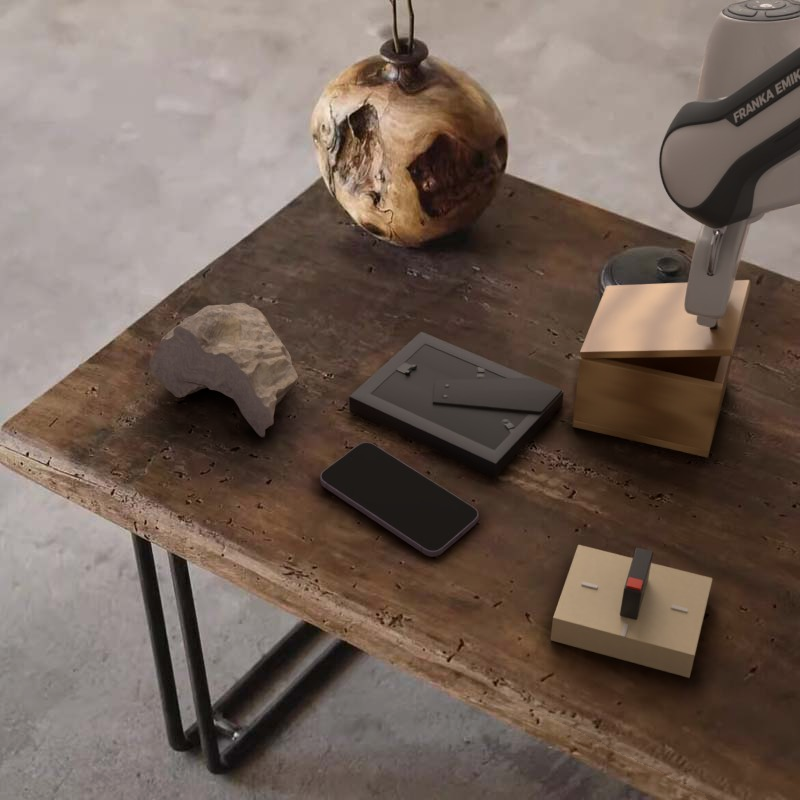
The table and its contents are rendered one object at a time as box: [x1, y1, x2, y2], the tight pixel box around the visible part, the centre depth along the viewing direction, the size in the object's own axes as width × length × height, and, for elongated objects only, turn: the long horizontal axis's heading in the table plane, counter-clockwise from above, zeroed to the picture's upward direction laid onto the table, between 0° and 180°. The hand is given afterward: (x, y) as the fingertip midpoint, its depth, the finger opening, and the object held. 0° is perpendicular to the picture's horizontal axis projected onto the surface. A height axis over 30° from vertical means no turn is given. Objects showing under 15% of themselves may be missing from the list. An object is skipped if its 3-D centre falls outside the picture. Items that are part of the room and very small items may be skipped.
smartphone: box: [319, 441, 479, 558], centre depth 126 cm, size 7×1×15 cm
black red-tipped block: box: [620, 547, 654, 620], centre depth 112 cm, size 5×2×4 cm, turn 161°
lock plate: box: [550, 544, 713, 679], centre depth 114 cm, size 12×9×3 cm
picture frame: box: [348, 331, 565, 479], centre depth 136 cm, size 13×2×18 cm
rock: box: [148, 302, 299, 438], centre depth 137 cm, size 16×13×10 cm
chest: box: [572, 354, 734, 458], centre depth 134 cm, size 14×12×9 cm
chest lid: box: [579, 279, 752, 358], centre depth 128 cm, size 15×12×5 cm
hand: (712, 301), depth 126 cm, fingers closed on chest lid, 5 cm apart
